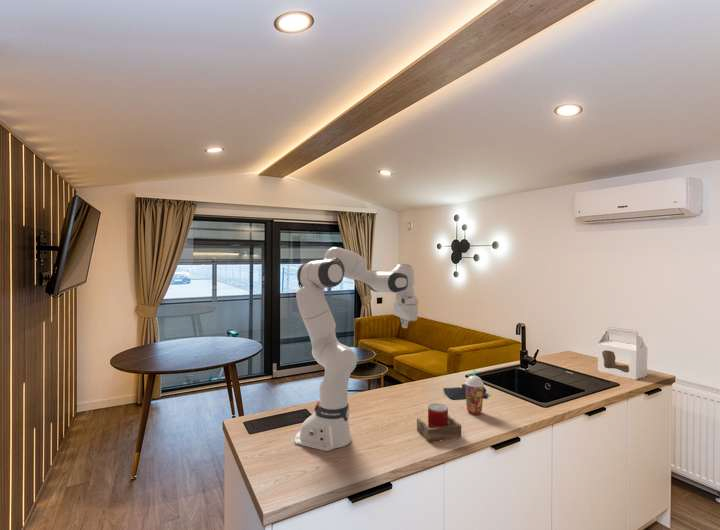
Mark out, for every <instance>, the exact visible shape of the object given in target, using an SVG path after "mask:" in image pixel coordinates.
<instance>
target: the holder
mask: <svg viewBox="0 0 720 530" xmlns="http://www.w3.org/2000/svg"><path fill="white" fill-rule="evenodd" d="M416 432H418V434H419V435H421V437H422V438H424V439H425V441H427V443H429V442H430V443H434V442H433V441H437V442H441V441H440V440H443V441H447V440H446V439H449V440H453V439H452V438H456V439H461V438H462V424H460V423H459V422H458V421H456V420H455V418H453V417H452V416H450V415H449V414H448V426H443V427H436V428H429V427H428V424H426V423H425V422H424V421H423V420H422V419H421V418H416ZM460 437H461V438H460Z"/></svg>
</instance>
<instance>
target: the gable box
mask: <svg viewBox="0 0 720 530" xmlns="http://www.w3.org/2000/svg"><path fill="white" fill-rule="evenodd" d="M610 335H612V336H618V337H625V338H630V339H631V338H632V339H635V340H636V344H634V343H633V344H632V343H627V342H623V341H617V340H613V339H612V340H610ZM615 354H619V355H626V356H629V357H630V362H629V364H628V365H626V364H625V365H623V364H621V365H619V364H617V363H616V355H615ZM597 371H598V372H601V373H605V374H608V375H613V376H618V377H622V378H625V377H626V378H625V379H629V378H632V379H631V380H633V379H639V378H641V377H644V378H646V377H645V376H647V377H648V347H647V346H646V343H645V342H644V341H643V336H640V335H639V333H638V330H633V329H627V328H622V327H621V328H620V327H615V326H614V327H612V326H609V327H607V328H606V330H603V335H602V337H601V338H600V340H599V342H598V343H597ZM639 380H640V379H639Z"/></svg>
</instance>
